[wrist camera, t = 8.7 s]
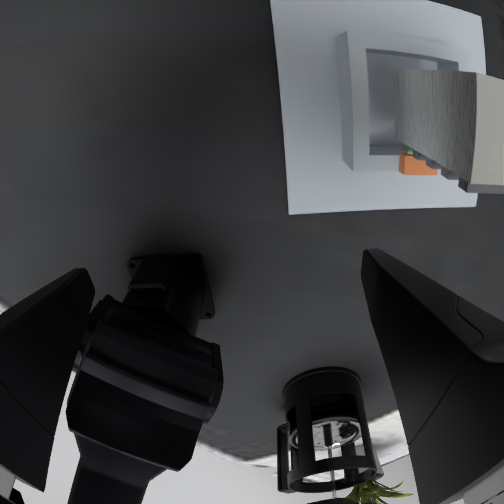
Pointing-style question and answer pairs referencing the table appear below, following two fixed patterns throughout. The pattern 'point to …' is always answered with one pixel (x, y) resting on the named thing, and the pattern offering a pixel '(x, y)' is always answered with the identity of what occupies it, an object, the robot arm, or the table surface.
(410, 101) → the column
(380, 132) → the stand base
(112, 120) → the table surface
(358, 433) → the french press
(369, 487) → the house plant
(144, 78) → the table surface
